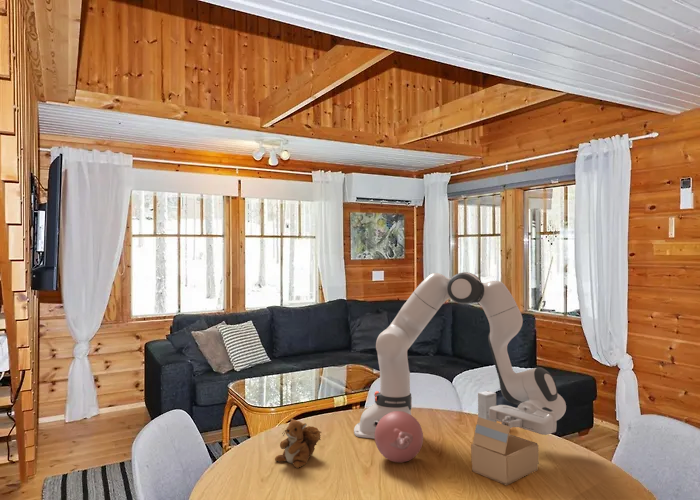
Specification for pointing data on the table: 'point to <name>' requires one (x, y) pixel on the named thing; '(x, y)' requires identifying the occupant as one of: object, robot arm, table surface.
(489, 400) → the skincare box
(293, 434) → the stuffed squirrel
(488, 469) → the carton
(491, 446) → the front flap
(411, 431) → the balloon
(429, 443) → the table surface
